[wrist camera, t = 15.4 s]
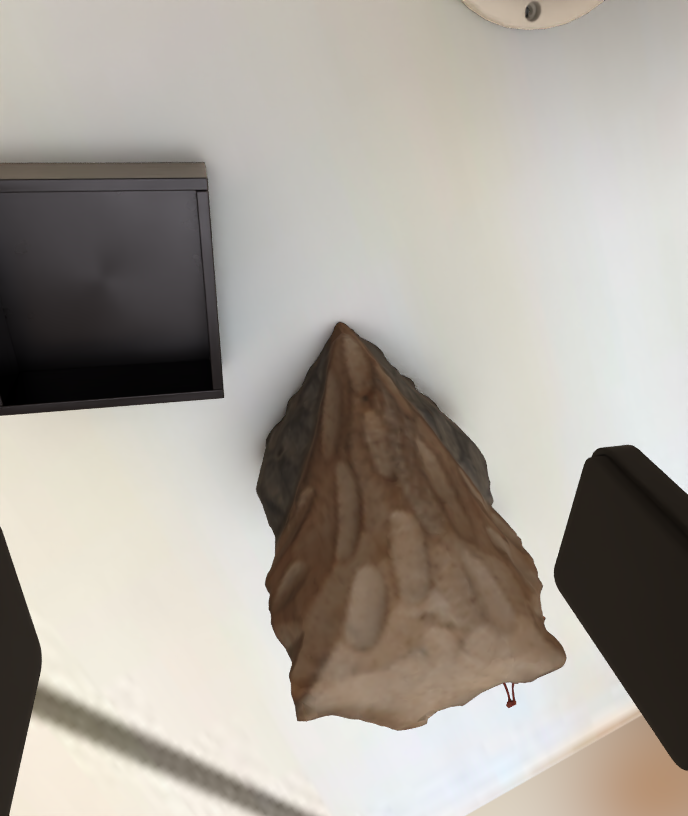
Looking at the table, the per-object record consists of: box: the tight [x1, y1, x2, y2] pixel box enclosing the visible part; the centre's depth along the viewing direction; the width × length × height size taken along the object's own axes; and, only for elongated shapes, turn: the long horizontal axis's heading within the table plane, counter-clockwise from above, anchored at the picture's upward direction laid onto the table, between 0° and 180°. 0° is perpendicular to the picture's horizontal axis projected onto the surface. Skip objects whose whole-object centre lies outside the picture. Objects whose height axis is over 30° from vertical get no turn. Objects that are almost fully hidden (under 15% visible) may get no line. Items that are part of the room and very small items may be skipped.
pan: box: [0, 162, 224, 416], centre depth 33 cm, size 12×12×4 cm
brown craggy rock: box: [256, 322, 566, 731], centre depth 36 cm, size 13×13×20 cm
